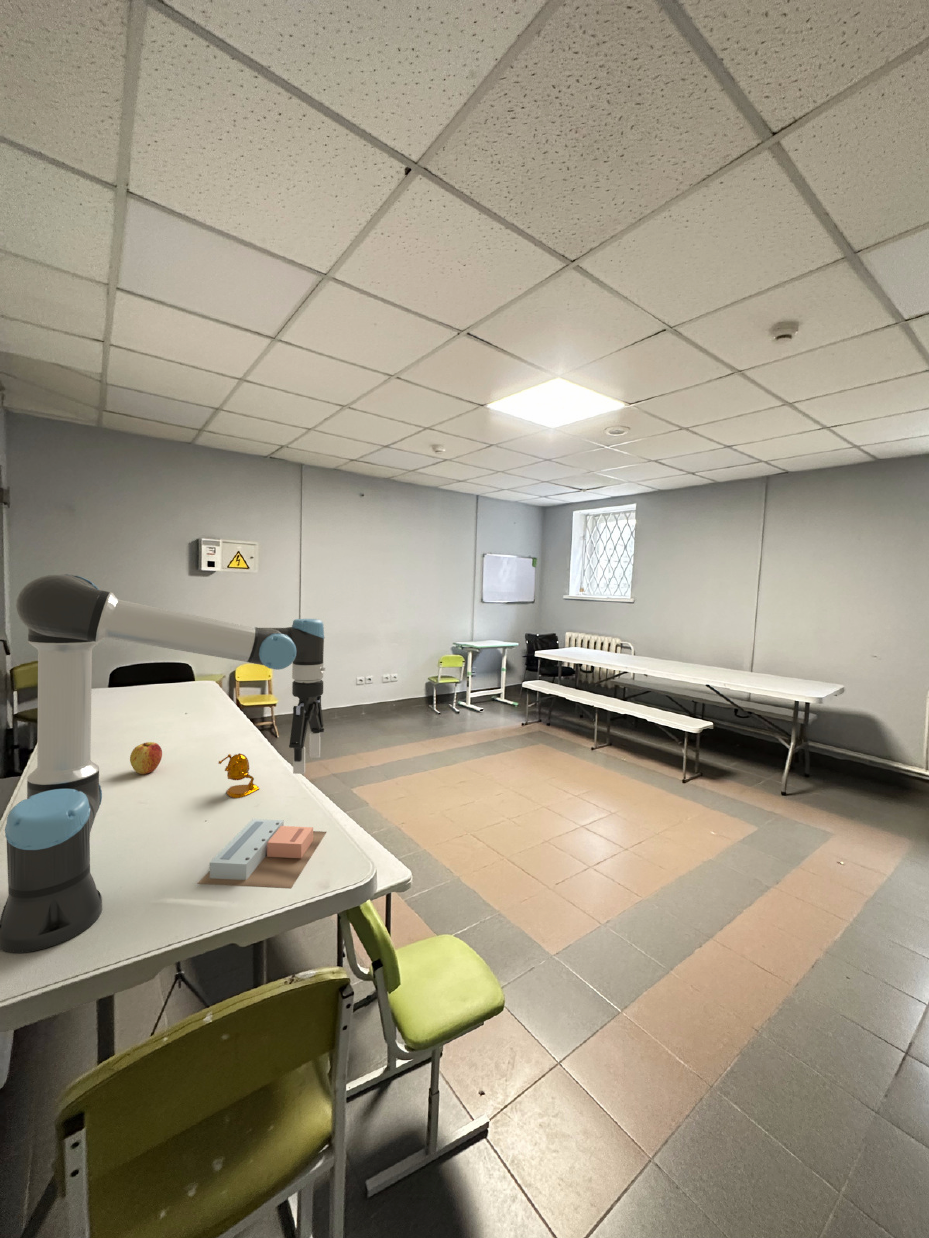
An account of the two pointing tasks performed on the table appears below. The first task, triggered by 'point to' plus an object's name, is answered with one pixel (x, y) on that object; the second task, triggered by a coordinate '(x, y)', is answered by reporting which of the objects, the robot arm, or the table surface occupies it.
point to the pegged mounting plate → (244, 850)
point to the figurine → (239, 776)
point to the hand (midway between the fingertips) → (307, 764)
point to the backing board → (273, 870)
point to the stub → (290, 842)
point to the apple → (146, 757)
